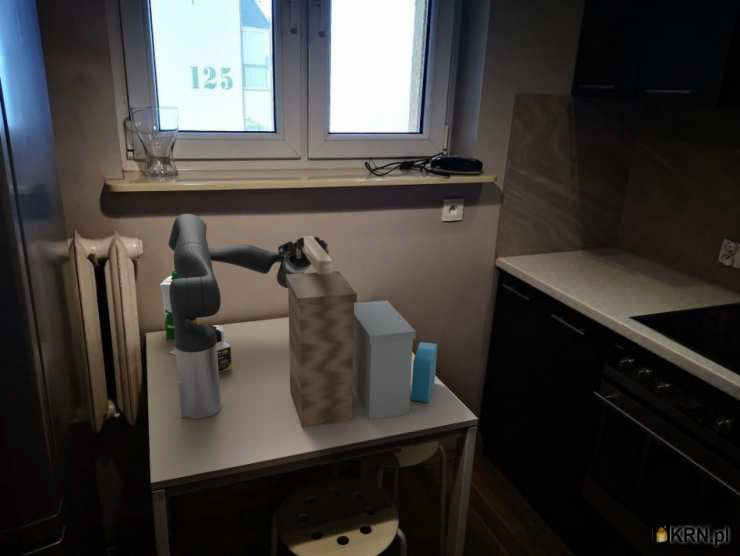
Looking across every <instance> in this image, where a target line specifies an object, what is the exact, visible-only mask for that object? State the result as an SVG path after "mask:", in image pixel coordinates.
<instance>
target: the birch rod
mask: <svg viewBox="0 0 740 556" xmlns="http://www.w3.org/2000/svg"><path fill="white" fill-rule="evenodd" d="M300 237H304V246H303V248H302V249H301V250H302V251H303V252H304V254H305V255H306V257H307V258H308V260H309V261H310V262H311V266H313V268H314V270H315V272H316V273H318V274H332V271H333V260H332V258H331V257H330V256H329V255H328V254H327V253H326V252H325V251H324V250H323V249H322V247H321V246H320V245H319V244H318V243H317V241H316V240H315V239H314V237H313V235H305V236H299V238H300Z"/></svg>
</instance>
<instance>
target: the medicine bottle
mask: <svg viewBox="0 0 740 556" xmlns="http://www.w3.org/2000/svg"><path fill="white" fill-rule="evenodd" d="M207 326H208V327H210V328H212V329H213V330H214V331H215V333H216V340H217V356H218V371H219V373H221V371H222V372H225V371H228V370H232V369H233V368H232V367H233V365H232V350H231V349H232V347H231V345H230V344H229V343H227V342H226V341H225V331H224V327H222V326H221V325H216V324H215V325H211V324H210V325H207Z"/></svg>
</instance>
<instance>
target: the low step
mask: <svg viewBox="0 0 740 556" xmlns="http://www.w3.org/2000/svg"><path fill="white" fill-rule="evenodd" d="M416 334H417V333H416V329H414V328H413V326H411V324H410V323H409V322H408V321H407V320H406V319H405V318H404V317H403V316H402V314H401V313H400V312H399V311H398V310H397V309H396V308H395V307H394V306H393V305H392V304H391V302H389V300H377V301H376V300H374V301H364V302H362V301H361V302H354V339H353V390H352V392H353V394H354V395H355V397H356V398H357V400H358V402H359V403H360V405H361V408H362V410H363V411H364V414H365V415H366V417H367V419H368V421H371V420H372V421H373V420H378V419H385V418H392V417H398V416H399V417H401V416H406V415H409V413H410V399H411V382H412V380H411V378H412V365H413V363H412V361H413V359H412V358H413V347H414V346H413V344H414V341H413V340H416Z"/></svg>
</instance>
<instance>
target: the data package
mask: <svg viewBox="0 0 740 556" xmlns="http://www.w3.org/2000/svg"><path fill="white" fill-rule="evenodd" d="M437 354H438V344H437V343H433V342H432V343H431V342H424V341H423V342H422V341H420V342H419V344H418V347H417V350H416V352H415V355H414V357H413V363H412V376H411V378H412V380H411V382H412V383H411V393H410V399H411V401H415V402H421V403H427V404H428V403H430V401H431V397H432V393H433V391H434V390H433V389H434V386H435V382H436V372H437V371H436V369H437V368H436V367H437V356H438V355H437Z"/></svg>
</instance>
